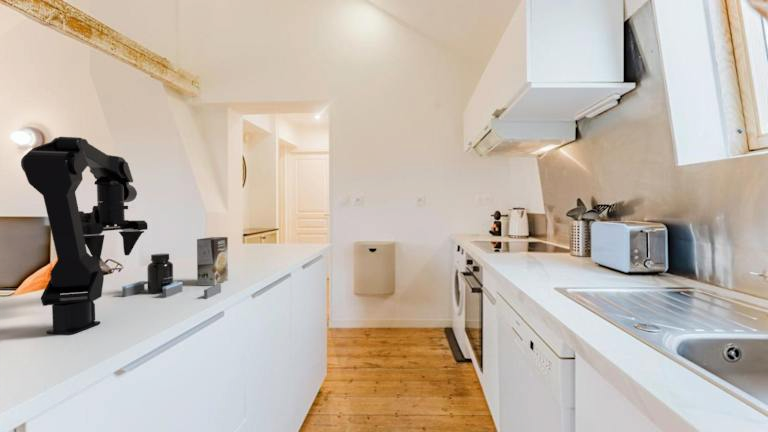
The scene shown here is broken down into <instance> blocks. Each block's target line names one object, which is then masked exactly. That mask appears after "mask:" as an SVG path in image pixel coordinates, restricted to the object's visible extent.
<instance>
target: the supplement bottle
mask: <svg viewBox="0 0 768 432" xmlns="http://www.w3.org/2000/svg"><path fill="white" fill-rule="evenodd" d="M150 261H151V263H149V264H148V265H147V271H146V272H147V281H148V284H147V292H148V294H151V295H153V294H156V295H157V294H163V289H162V287H165V286H168V285H170V283H173V282H174V264H173V263H172V262H171V261H170V254H169V253H165V252H164V253H154V254H151V256H150Z"/></svg>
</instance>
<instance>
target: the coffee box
mask: <svg viewBox="0 0 768 432" xmlns="http://www.w3.org/2000/svg"><path fill="white" fill-rule="evenodd" d="M228 245H229V242H228V237H227V236H215V237H214V236H211V237H204V238H197V239H196V256H197V257H196V267H197V269H196V270H197V271H196V272H197V274H196V275H197V276H196V277H197V279H196V280H197V286H212V287H213V286H215V285H217V284H221V283H224V282H226V281H228V280H229V266H228V265H229V255H228V254H229V252H228V251H229V250H228V249H229V248H228V247H229V246H228Z"/></svg>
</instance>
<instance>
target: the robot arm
mask: <svg viewBox="0 0 768 432" xmlns="http://www.w3.org/2000/svg"><path fill="white" fill-rule="evenodd" d="M20 166H21V169H22V170H23V172H24V174H25V177H26V180H27V182H28V184H29V185H30V186H31V187H33V188H34V189H35V190H36V191H37V192H38V193H40V194H41V195H42V198H43V202H44V205H45V206H44V207H45V209H46V214H47V219H48V222H49V227H50V231H51V232H50V233H51V236H52V241H53V245H54V249H55V253H56V258H57V260H56V262H55V264H54V265H53V267H52V269H51V271H50V272H49V276H50V279H49V280H48V283H47V284H46V286H45V288H44V290H43V293H42V295H41V297H40V301H41V304H42V307H45V306H51V308H52V309H51V311H52V312H51V313H52V314H51V315H52V328H50V329H48V330H46V334H61V335H62V334H63V335H64V334H65V335H71V334H78V333H79V332H82V331H84V330H87V329H89V328H92V327H95V326H97V325H100V324H101V321H99V320H96V304H95V301H96V300H99V299H100V298H102V294H103V287H104V277H105V276H104V273H103V271H102V268H101V267H102V266H101V263H100V260H101V256H102V250H103V244H104V242H105V241H104V240H105V234H103V232H107V231H118V234H120V236H121V237H122V245H123V254H124V256H130V254H131V253H132V251H133V249H134V247H135V245H136V243H137V242H138V240H139V239H140V237H141V236H142V234H143V233H145V230H146V231H147V230H148V223H147V221H146V220H129V219H125V210H129V205H125V203H130V202H133V201H134V200H136V198H137V196H138V192H137V190H136V188H135V187H134V186H133V185H131V184H130V183H133V182H134V178H133V175H132V173H131V170H130V166H129V164H128V162H127V161H126V160H125V159H124V157H121V156H118V155H110V154H107V153H105V152H103V151H101V150H100V149H98V148H97V147H95V146H94V145H91V144H90V143H89V142H88V140H87V139H86V138H82V137H78V136H77V137H76V136H59V137H58V136H57V137H54V139H52V141H49V142H47V143H46V142H45V143H44V144H40V145H38V146H35V147H33V148H31V149H30V150H29V151H28V152H26V154H24V156H22V158H21V160H20ZM86 168H89V172H90V173H91V175H92V176H93V177H94V178H95V181H94V185H95V186H96V196H97V197H96V199H97V200H96V201H97V205H93V207H92V211H91V212H84V211H83V210H81V211H80V210H79V207H78V205H79V204H78V201H77V195H76V191H77V190H78V188H79V186H81V185H80V184H81V183H82V181H83V173H84V172H85V170H86ZM119 230H121V231H119ZM87 249H88V250H89V252H90V254H89V253H88V251H87Z"/></svg>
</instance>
